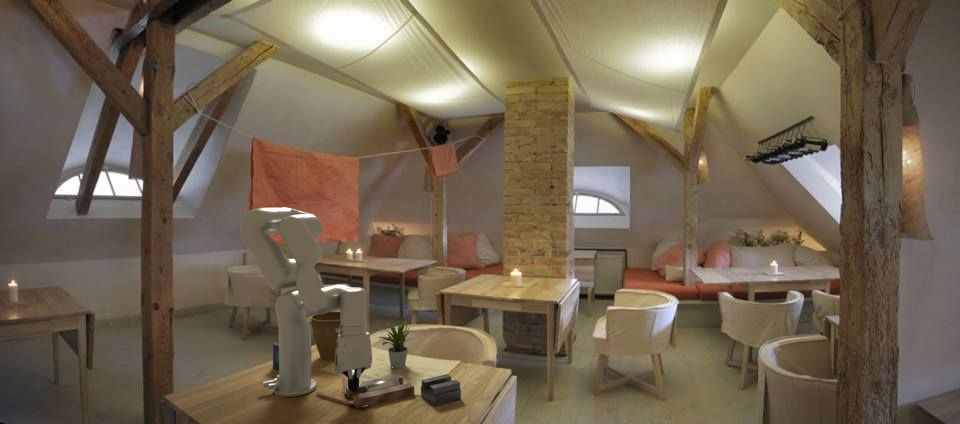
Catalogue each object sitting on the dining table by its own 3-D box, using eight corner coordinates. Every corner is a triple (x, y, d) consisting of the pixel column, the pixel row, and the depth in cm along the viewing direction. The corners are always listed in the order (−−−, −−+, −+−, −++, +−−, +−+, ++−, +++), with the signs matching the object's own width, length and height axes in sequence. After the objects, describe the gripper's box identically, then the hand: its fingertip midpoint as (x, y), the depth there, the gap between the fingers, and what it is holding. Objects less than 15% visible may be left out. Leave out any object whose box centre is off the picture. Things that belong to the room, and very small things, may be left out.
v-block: (434, 406, 135) (434, 389, 134) (420, 395, 142) (420, 379, 142) (460, 399, 140) (460, 382, 139) (446, 389, 147) (446, 373, 147)
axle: (369, 399, 139) (368, 386, 139) (364, 396, 142) (364, 383, 142) (400, 392, 144) (399, 379, 145) (395, 389, 148) (394, 376, 148)
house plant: (386, 357, 176) (386, 314, 176) (421, 359, 174) (421, 316, 174) (372, 370, 162) (372, 324, 162) (410, 373, 160) (410, 326, 160)
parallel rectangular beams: (357, 408, 133) (357, 399, 133) (344, 394, 143) (344, 385, 143) (414, 394, 143) (414, 386, 142) (398, 381, 153) (398, 374, 152)
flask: (296, 370, 162) (296, 339, 162) (290, 373, 160) (290, 342, 159) (276, 366, 166) (276, 337, 166) (270, 369, 163) (269, 339, 163)
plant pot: (329, 366, 166) (329, 322, 165) (302, 359, 173) (302, 317, 173) (360, 355, 179) (360, 314, 178) (333, 348, 186) (333, 309, 186)
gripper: (331, 336, 130) (331, 400, 131) (381, 328, 138) (381, 389, 139) (324, 330, 137) (324, 391, 137) (373, 323, 145) (373, 381, 145)
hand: (353, 390), depth 138 cm, fingers closed
